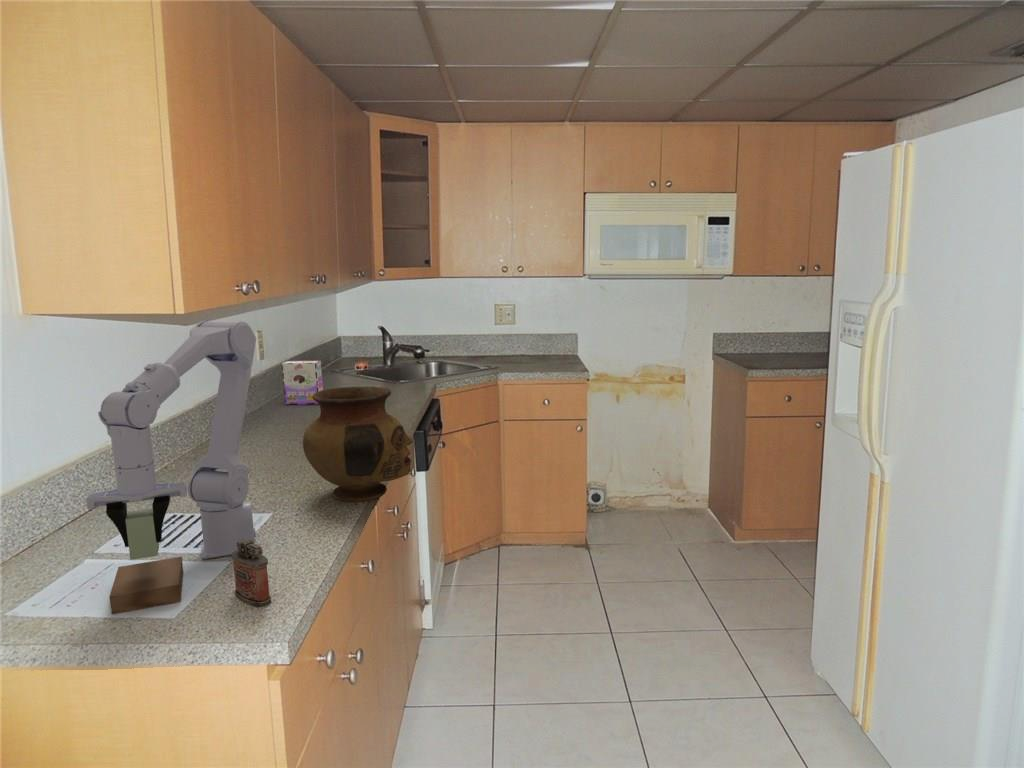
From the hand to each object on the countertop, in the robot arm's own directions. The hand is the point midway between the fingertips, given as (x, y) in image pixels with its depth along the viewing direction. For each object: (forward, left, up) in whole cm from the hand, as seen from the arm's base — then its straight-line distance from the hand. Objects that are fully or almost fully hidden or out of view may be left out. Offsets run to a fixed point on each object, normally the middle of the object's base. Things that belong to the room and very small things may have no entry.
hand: (143, 542), depth 118 cm
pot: (-42, -36, -9) cm, 56 cm away
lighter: (-16, +10, -9) cm, 21 cm away
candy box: (-43, -152, -9) cm, 158 cm away
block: (0, 0, -2) cm, 2 cm away
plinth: (0, 0, -9) cm, 9 cm away
